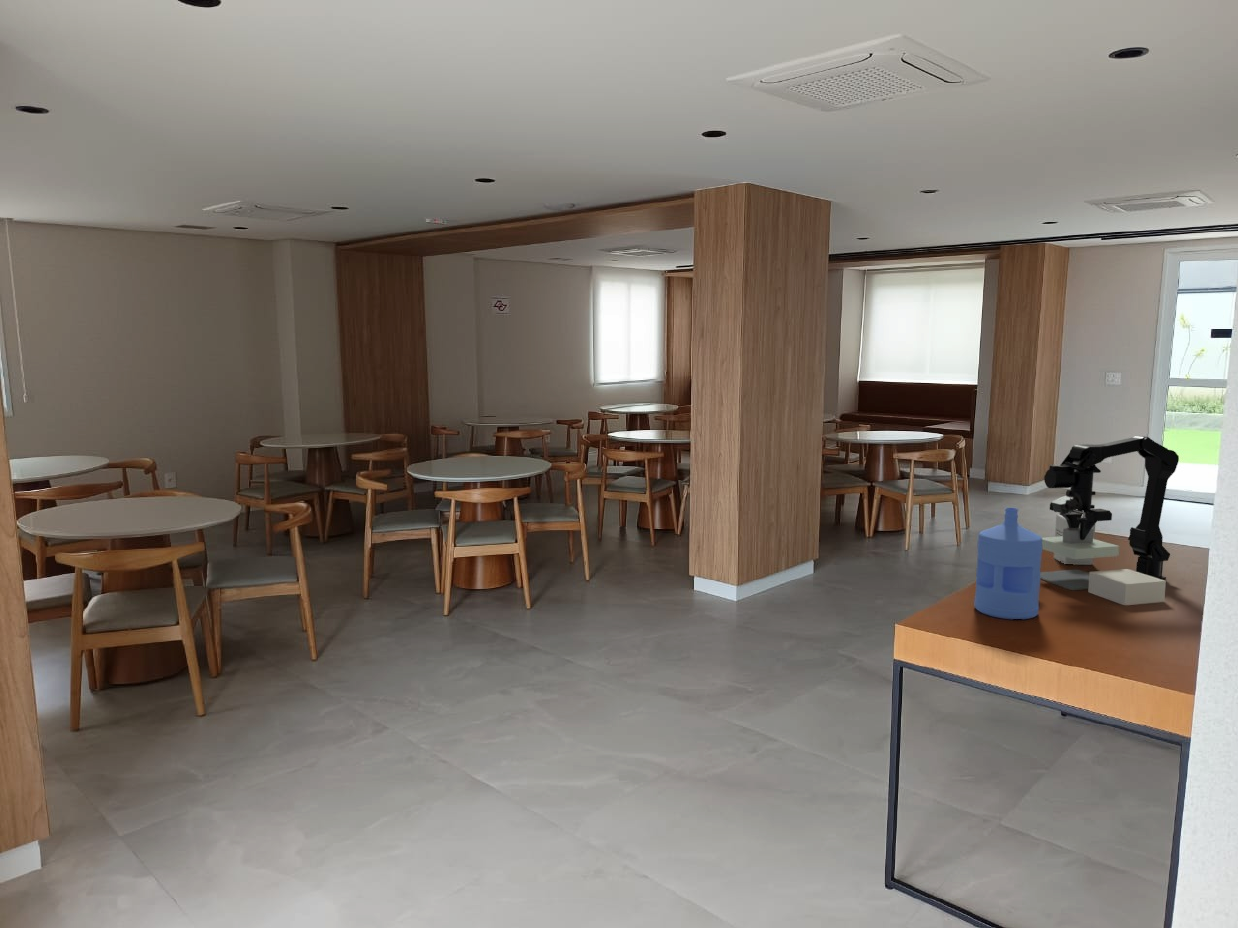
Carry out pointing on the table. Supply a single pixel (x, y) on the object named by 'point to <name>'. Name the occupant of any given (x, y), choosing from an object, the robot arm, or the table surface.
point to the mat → (1067, 579)
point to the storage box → (1127, 587)
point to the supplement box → (1061, 525)
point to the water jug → (1008, 570)
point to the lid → (1079, 545)
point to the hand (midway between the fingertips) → (1078, 538)
